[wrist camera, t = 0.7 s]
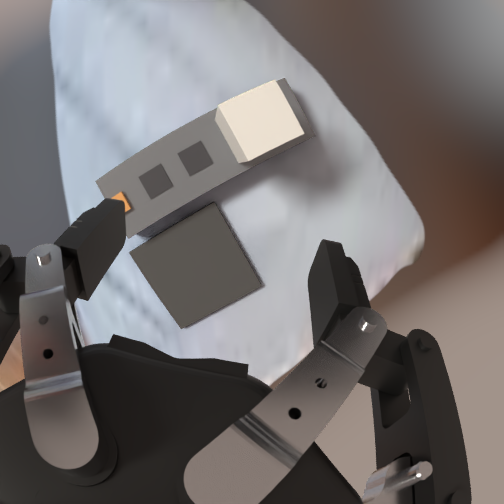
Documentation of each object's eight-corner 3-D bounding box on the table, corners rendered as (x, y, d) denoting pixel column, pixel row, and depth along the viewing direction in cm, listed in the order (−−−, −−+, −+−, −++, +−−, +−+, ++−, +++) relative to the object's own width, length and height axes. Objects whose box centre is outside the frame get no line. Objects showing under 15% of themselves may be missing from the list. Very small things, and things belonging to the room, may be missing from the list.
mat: (130, 251, 32) (129, 252, 31) (214, 201, 32) (214, 202, 31) (181, 326, 35) (181, 329, 35) (260, 284, 35) (261, 285, 35)
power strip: (103, 180, 29) (93, 181, 27) (278, 84, 29) (285, 76, 27) (134, 233, 32) (127, 239, 29) (307, 138, 32) (317, 135, 29)
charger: (214, 122, 29) (217, 105, 21) (256, 102, 29) (275, 79, 21) (236, 163, 31) (248, 161, 22) (277, 142, 31) (304, 133, 22)
